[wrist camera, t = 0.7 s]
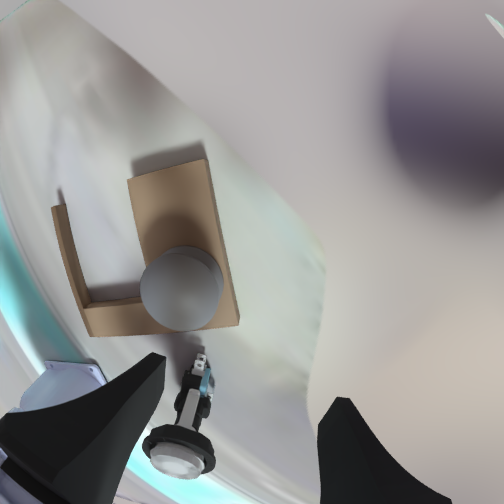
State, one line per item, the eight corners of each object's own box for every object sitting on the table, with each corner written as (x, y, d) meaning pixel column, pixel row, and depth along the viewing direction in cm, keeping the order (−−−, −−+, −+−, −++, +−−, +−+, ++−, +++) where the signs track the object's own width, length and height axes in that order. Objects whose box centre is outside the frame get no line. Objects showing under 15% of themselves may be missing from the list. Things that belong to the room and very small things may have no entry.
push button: (174, 343, 22) (133, 427, 12) (234, 357, 22) (221, 450, 12) (170, 394, 24) (141, 471, 14) (222, 406, 24) (209, 489, 14)
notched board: (97, 329, 22) (75, 351, 18) (61, 205, 19) (30, 211, 15) (239, 316, 21) (235, 344, 17) (208, 160, 18) (194, 154, 14)
